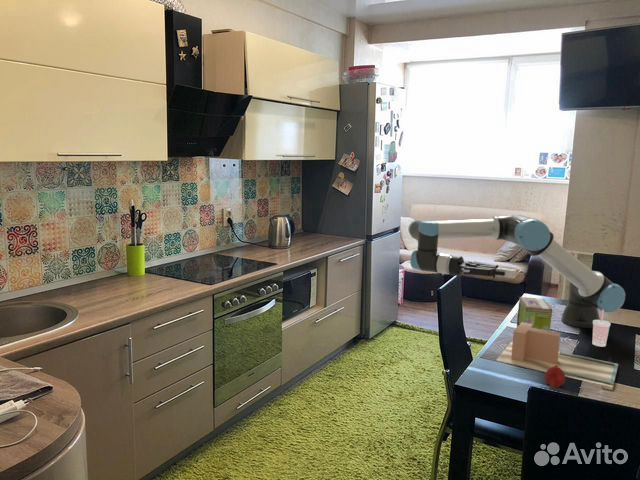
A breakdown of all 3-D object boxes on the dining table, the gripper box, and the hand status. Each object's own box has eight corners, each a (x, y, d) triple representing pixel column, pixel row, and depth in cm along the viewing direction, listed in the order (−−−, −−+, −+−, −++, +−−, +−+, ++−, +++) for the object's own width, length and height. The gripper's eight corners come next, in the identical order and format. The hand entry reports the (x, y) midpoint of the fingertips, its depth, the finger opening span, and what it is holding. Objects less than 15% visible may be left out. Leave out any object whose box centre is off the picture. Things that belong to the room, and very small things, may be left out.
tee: (519, 347, 197) (521, 322, 196) (559, 356, 190) (562, 329, 188) (511, 358, 188) (513, 331, 186) (553, 367, 180) (556, 339, 178)
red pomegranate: (540, 384, 170) (542, 360, 168) (557, 384, 170) (560, 360, 169) (549, 392, 164) (552, 368, 163) (567, 392, 164) (570, 368, 163)
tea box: (549, 346, 203) (553, 308, 200) (521, 343, 205) (525, 306, 202) (541, 332, 217) (544, 297, 215) (515, 330, 219) (518, 295, 217)
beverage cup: (607, 348, 201) (611, 313, 199) (589, 345, 204) (593, 310, 202) (608, 343, 206) (612, 309, 204) (591, 340, 210) (594, 306, 207)
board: (511, 344, 204) (511, 340, 204) (618, 366, 185) (618, 362, 184) (495, 363, 186) (496, 358, 185) (612, 390, 167) (612, 385, 166)
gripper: (456, 271, 208) (519, 280, 195) (443, 278, 196) (509, 288, 184) (457, 252, 206) (520, 260, 194) (445, 258, 195) (511, 267, 182)
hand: (515, 274), depth 189 cm, fingers closed
